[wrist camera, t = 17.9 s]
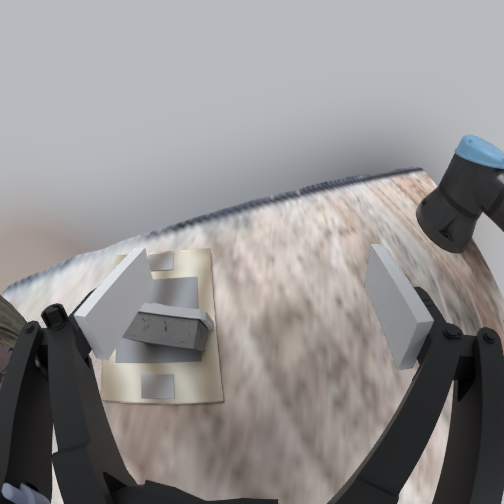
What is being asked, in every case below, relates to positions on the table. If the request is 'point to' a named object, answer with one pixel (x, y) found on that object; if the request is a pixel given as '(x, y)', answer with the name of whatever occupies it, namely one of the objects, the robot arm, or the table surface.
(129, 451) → the table surface
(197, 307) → the mounting board
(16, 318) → the tabletop clock
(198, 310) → the electrical switch
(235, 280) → the table surface
